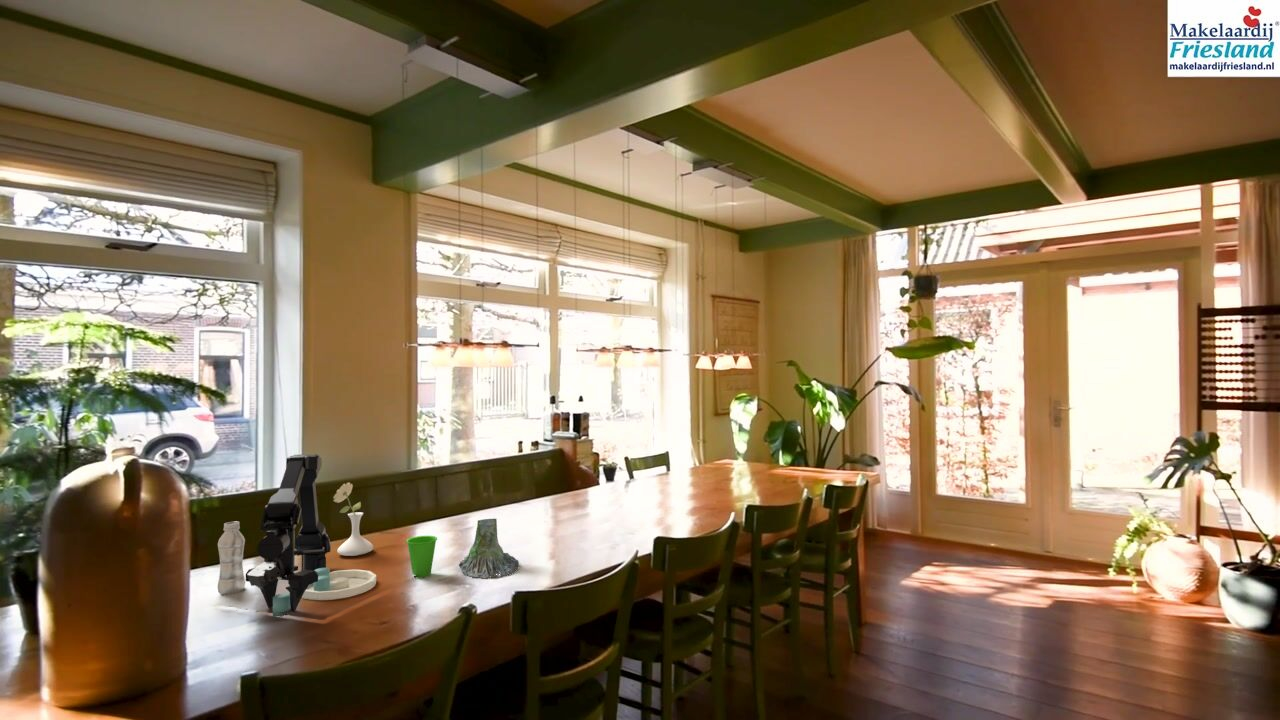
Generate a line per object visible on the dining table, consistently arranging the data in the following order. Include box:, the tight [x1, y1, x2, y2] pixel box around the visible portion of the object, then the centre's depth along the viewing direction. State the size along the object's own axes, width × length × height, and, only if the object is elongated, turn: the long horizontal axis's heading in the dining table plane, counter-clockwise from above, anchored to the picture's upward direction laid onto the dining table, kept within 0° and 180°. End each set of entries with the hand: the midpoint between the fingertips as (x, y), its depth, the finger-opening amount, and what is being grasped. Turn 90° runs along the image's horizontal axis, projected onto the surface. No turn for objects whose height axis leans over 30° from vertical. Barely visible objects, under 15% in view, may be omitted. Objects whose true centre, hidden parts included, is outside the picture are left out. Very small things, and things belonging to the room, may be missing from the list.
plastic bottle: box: [217, 520, 246, 596], centre depth 179 cm, size 6×7×20 cm
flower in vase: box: [332, 482, 374, 557], centre depth 218 cm, size 13×11×25 cm
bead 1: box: [272, 592, 291, 617], centre depth 165 cm, size 4×4×4 cm
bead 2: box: [314, 576, 330, 591], centre depth 176 cm, size 4×4×4 cm
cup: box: [405, 535, 438, 579], centre depth 195 cm, size 9×9×11 cm
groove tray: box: [301, 568, 377, 601], centre depth 181 cm, size 20×20×3 cm
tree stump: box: [458, 518, 520, 580], centre depth 202 cm, size 18×20×18 cm
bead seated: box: [314, 567, 331, 576], centre depth 183 cm, size 4×4×4 cm
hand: (281, 609), depth 165 cm, fingers open, 7 cm apart
